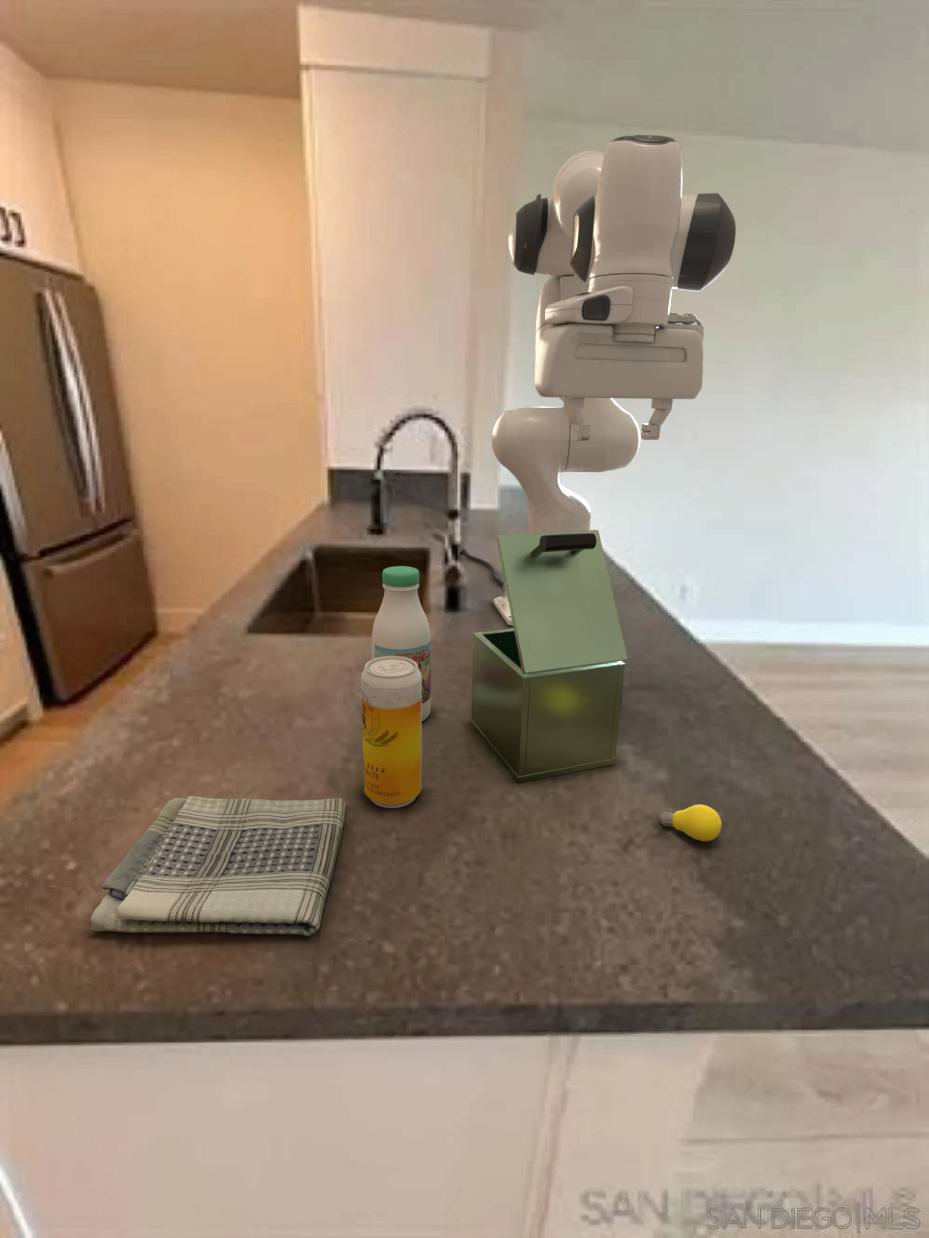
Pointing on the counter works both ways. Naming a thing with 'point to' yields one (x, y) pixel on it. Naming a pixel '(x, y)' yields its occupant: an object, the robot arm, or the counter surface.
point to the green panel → (560, 600)
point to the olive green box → (543, 710)
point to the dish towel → (227, 868)
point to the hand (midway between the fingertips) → (615, 440)
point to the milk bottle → (404, 626)
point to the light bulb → (694, 822)
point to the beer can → (392, 730)
